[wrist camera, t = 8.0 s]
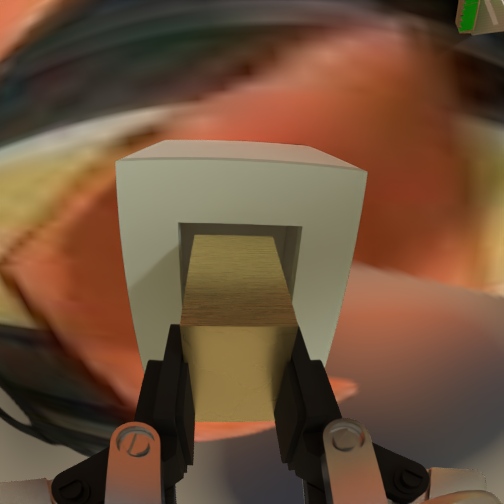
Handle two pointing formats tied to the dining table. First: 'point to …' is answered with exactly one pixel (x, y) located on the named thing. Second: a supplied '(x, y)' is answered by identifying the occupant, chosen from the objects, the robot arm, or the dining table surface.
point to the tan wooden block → (236, 327)
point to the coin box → (237, 226)
